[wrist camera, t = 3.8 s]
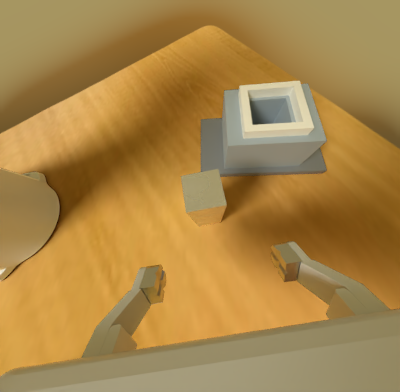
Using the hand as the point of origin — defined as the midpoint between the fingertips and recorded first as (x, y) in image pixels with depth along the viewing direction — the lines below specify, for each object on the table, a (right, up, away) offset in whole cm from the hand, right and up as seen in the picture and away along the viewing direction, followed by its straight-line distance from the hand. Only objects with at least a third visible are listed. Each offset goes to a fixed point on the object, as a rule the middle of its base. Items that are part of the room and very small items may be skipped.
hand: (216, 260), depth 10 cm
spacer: (+8, +16, +9) cm, 20 cm away
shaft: (0, +2, +12) cm, 13 cm away
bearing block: (+9, +14, +16) cm, 23 cm away
